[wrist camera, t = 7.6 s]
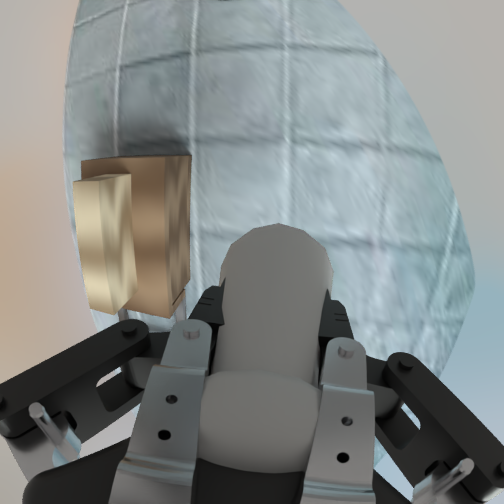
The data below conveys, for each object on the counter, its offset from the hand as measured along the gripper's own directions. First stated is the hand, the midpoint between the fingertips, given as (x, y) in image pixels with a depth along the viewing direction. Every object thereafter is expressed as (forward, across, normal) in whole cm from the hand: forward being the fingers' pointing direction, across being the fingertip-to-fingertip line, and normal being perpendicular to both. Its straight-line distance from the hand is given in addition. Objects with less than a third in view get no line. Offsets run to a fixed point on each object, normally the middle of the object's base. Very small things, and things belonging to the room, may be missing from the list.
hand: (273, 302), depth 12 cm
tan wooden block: (+17, +16, +7) cm, 24 cm away
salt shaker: (+5, 0, 0) cm, 5 cm away
